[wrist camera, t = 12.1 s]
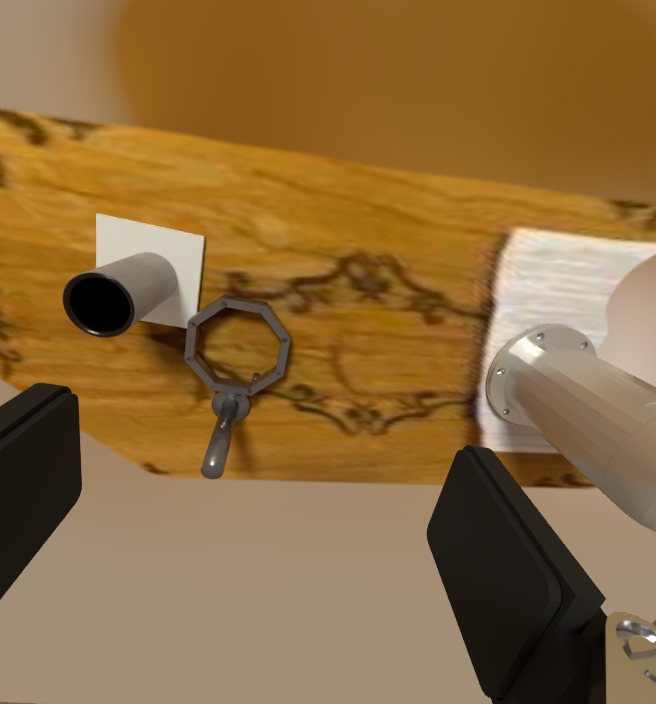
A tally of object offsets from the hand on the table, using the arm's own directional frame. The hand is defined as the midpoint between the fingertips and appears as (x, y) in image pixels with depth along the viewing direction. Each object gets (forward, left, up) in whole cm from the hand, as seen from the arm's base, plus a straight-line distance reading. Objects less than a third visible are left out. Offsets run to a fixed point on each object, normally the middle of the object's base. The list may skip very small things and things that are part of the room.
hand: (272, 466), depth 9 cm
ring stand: (+3, +10, -29) cm, 31 cm away
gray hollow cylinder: (+12, +3, -28) cm, 31 cm away
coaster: (+12, +3, -29) cm, 31 cm away
